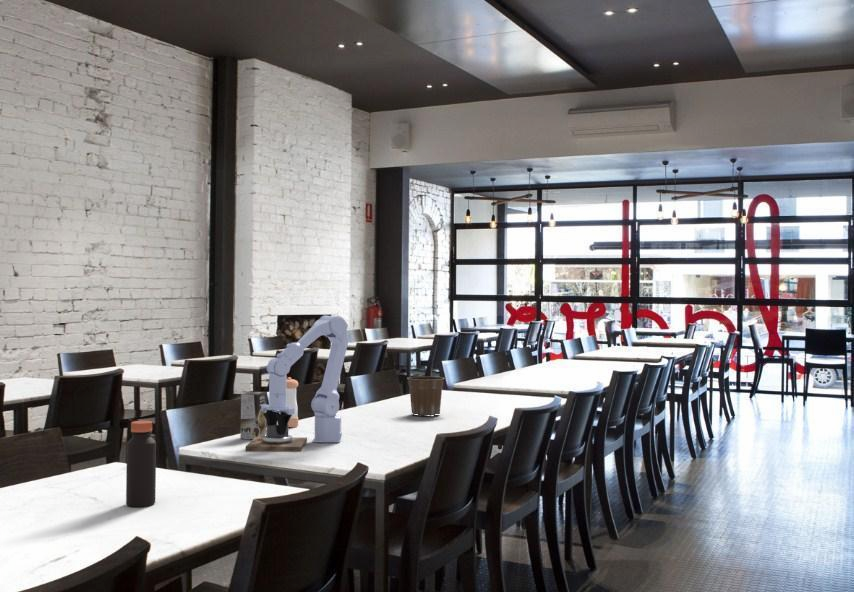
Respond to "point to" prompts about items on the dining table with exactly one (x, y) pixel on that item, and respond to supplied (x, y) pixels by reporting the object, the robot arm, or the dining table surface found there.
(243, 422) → the coffee box
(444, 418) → the dining table surface
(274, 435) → the dial
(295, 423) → the pepper shaker
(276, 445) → the dial plate
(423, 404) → the plant pot
